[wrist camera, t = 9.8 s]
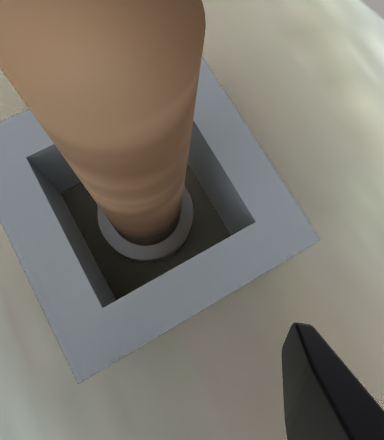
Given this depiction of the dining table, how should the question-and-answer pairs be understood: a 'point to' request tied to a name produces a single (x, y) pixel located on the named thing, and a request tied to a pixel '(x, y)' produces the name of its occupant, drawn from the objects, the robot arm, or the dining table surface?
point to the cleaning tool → (115, 105)
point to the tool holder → (173, 279)
